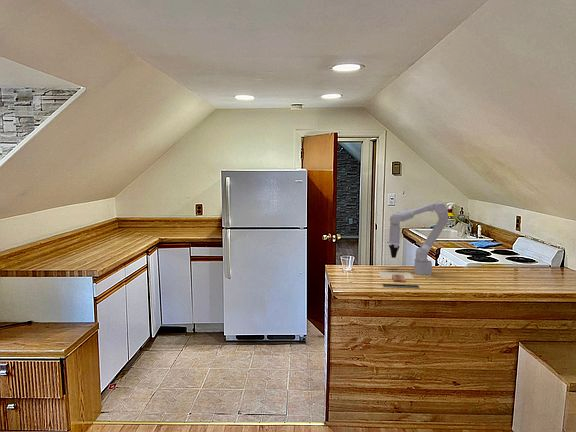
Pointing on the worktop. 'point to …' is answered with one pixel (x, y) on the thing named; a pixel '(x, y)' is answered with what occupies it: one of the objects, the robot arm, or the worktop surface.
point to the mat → (401, 286)
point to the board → (389, 274)
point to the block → (398, 278)
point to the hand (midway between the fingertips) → (393, 257)
